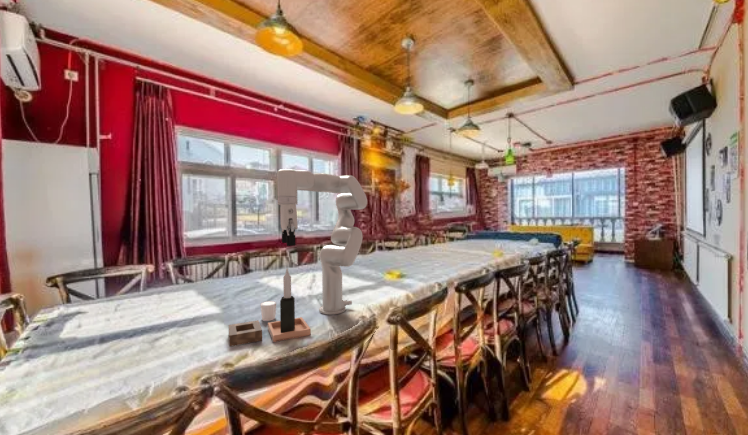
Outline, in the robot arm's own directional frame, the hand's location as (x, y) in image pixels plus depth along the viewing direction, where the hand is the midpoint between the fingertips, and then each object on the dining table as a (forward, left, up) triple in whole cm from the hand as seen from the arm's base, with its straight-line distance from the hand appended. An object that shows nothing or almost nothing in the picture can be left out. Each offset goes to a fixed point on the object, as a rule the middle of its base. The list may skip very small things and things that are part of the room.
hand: (288, 244), depth 122 cm
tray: (0, 0, -35) cm, 35 cm away
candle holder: (+16, -2, -35) cm, 39 cm away
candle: (+1, 0, -35) cm, 35 cm away
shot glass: (+5, -19, -35) cm, 40 cm away
